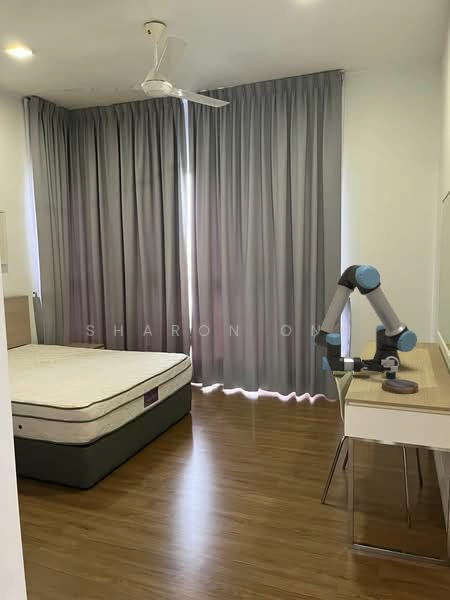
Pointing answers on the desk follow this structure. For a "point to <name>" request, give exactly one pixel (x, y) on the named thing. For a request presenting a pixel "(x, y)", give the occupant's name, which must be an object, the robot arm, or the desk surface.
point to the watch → (390, 374)
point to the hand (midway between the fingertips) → (396, 365)
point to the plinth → (400, 386)
